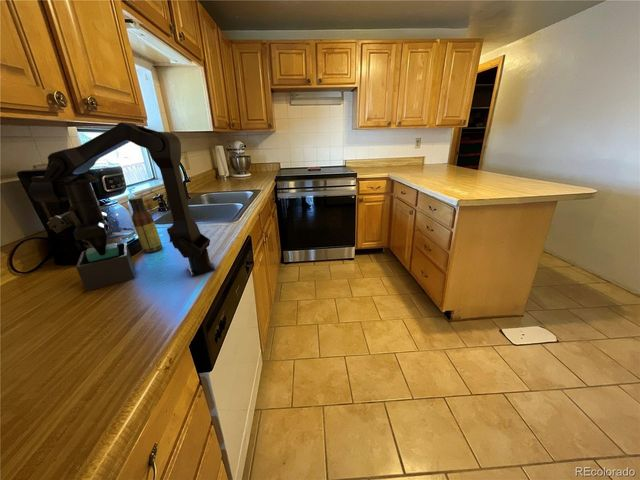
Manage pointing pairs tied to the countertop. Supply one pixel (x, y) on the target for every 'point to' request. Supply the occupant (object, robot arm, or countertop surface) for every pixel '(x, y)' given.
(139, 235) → the sauce bottle
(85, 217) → the robot arm
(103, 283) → the trash bin
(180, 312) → the countertop surface
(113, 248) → the packet
